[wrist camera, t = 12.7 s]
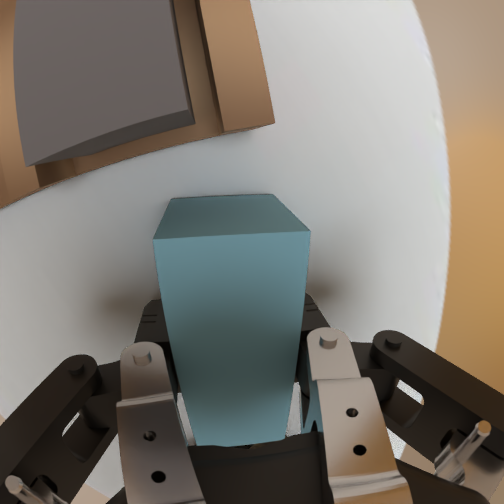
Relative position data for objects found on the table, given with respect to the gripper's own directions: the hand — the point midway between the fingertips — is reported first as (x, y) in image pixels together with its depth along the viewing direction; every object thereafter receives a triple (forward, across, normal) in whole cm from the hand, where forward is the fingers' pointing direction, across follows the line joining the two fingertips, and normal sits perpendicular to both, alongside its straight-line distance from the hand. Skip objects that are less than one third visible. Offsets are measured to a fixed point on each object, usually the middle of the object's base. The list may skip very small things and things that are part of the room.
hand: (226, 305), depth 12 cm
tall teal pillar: (0, 0, 0) cm, 0 cm away
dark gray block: (-1, +3, -11) cm, 12 cm away
